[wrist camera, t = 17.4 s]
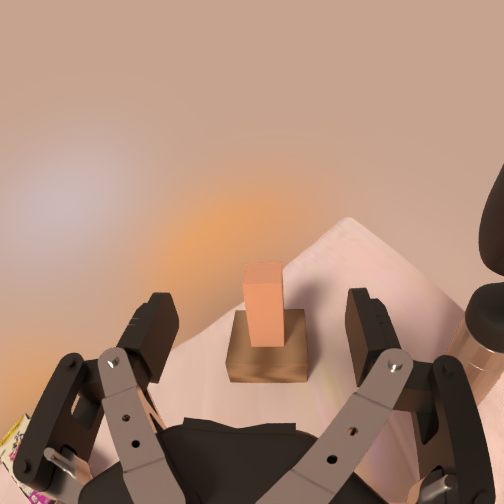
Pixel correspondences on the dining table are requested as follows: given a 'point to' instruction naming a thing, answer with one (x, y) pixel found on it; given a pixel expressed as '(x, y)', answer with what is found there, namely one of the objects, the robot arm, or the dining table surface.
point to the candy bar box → (7, 453)
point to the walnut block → (268, 353)
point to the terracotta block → (264, 303)
